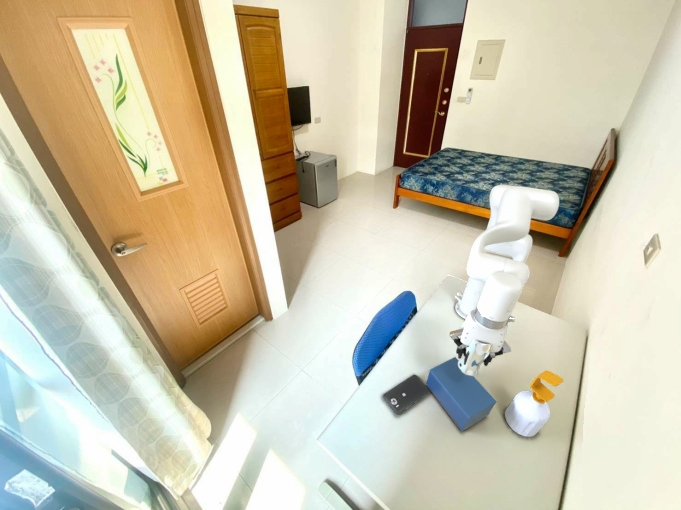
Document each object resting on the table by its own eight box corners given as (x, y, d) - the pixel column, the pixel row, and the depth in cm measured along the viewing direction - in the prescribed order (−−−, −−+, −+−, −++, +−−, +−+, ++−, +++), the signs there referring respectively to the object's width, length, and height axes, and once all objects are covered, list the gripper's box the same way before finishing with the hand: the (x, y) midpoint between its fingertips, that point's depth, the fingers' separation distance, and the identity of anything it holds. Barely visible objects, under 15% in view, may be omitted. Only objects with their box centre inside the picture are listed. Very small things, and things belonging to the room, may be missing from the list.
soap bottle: (524, 443, 83) (561, 400, 69) (498, 415, 90) (527, 371, 76) (543, 428, 87) (582, 384, 73) (516, 402, 93) (547, 357, 79)
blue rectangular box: (424, 385, 98) (430, 369, 92) (448, 373, 102) (455, 356, 96) (461, 433, 86) (469, 417, 80) (486, 417, 89) (496, 401, 84)
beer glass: (454, 371, 83) (467, 339, 74) (458, 353, 88) (470, 321, 79) (479, 381, 80) (496, 349, 72) (481, 362, 85) (497, 330, 77)
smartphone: (382, 396, 95) (382, 394, 95) (414, 374, 101) (415, 373, 101) (396, 416, 90) (397, 414, 89) (430, 392, 96) (430, 390, 96)
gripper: (526, 313, 72) (503, 356, 82) (455, 298, 77) (441, 340, 87) (531, 336, 66) (506, 378, 76) (454, 317, 71) (440, 360, 81)
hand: (472, 357), depth 81 cm, fingers closed on beer glass, 6 cm apart
